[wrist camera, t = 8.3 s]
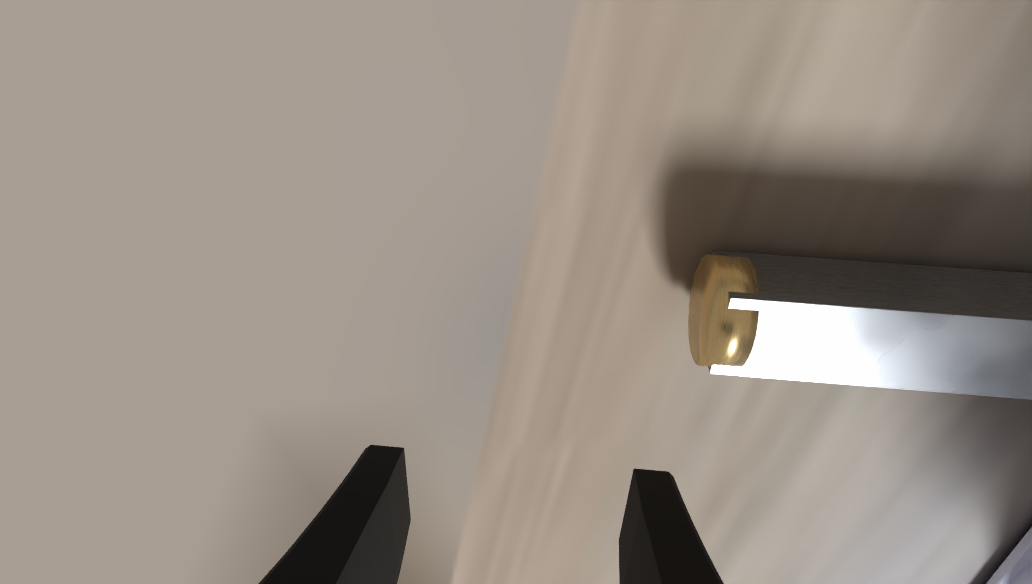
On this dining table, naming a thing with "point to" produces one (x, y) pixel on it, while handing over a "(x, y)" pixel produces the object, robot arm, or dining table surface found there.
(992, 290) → the shaft
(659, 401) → the dining table surface
